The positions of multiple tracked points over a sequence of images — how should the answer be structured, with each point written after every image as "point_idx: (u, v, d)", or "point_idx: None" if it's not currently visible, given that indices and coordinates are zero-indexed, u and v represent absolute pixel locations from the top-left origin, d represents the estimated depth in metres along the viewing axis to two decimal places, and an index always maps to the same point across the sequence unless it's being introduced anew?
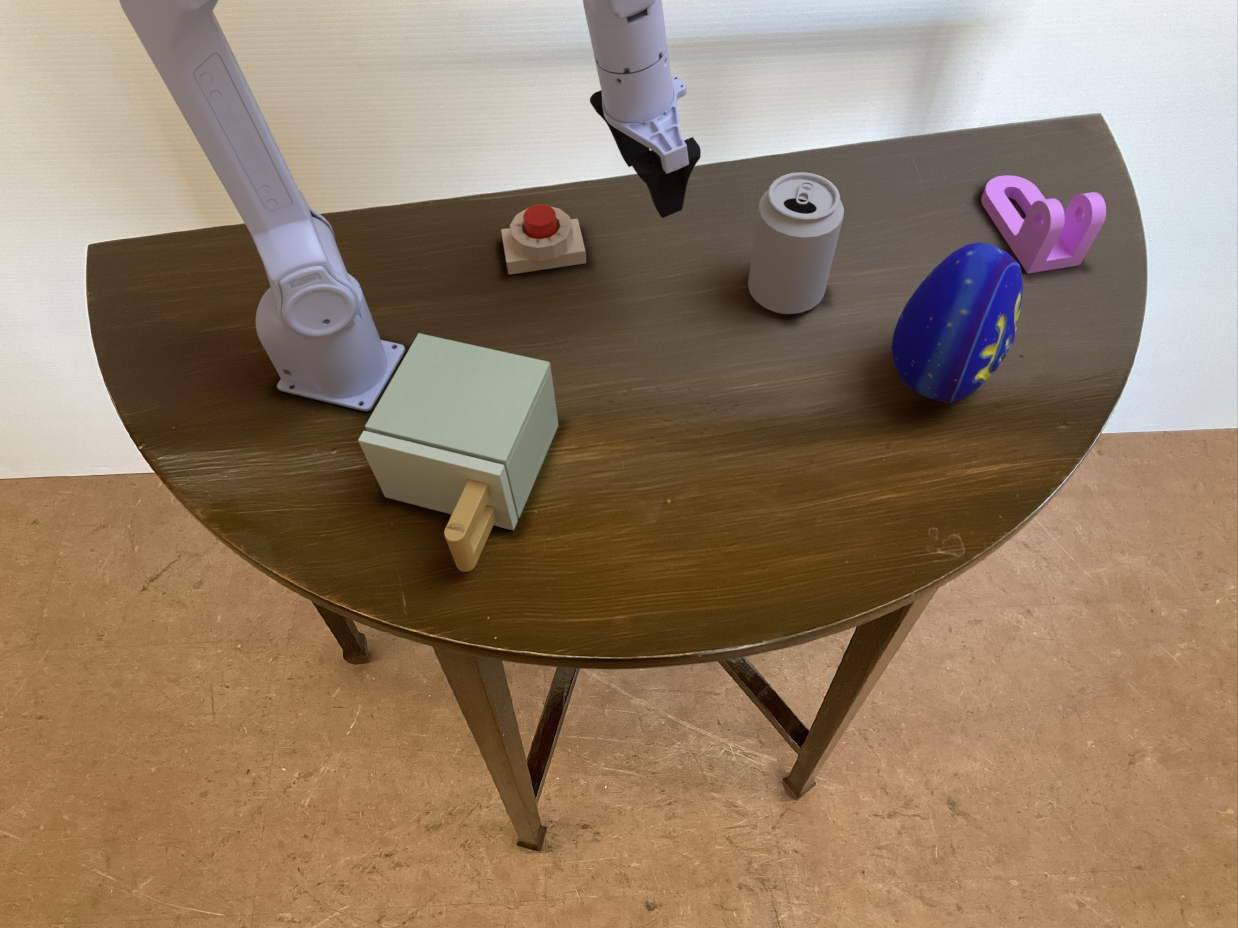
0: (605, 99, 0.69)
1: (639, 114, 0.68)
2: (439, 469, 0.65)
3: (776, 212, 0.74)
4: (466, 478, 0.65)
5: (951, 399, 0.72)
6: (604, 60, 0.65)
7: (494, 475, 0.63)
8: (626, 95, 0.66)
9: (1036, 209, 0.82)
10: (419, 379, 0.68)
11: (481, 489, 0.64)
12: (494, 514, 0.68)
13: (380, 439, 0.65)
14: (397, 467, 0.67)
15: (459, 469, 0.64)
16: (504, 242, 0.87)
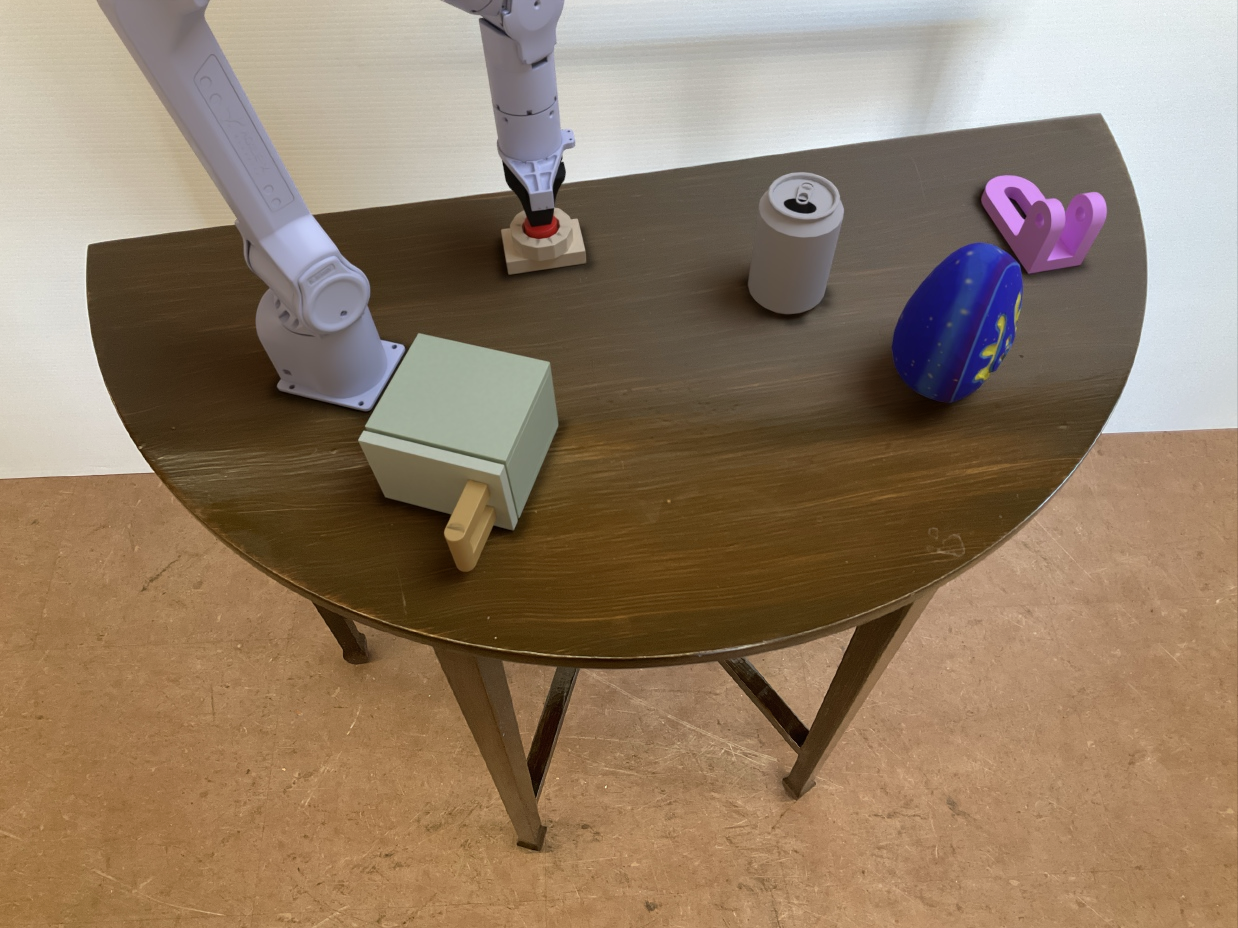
0: (497, 133, 0.76)
1: (522, 153, 0.75)
2: (439, 469, 0.65)
3: (776, 212, 0.74)
4: (466, 478, 0.65)
5: (951, 399, 0.72)
6: (507, 104, 0.71)
7: (494, 475, 0.63)
8: (511, 133, 0.74)
9: (1037, 209, 0.82)
10: (419, 379, 0.68)
11: (481, 489, 0.64)
12: (494, 514, 0.68)
13: (380, 439, 0.65)
14: (397, 467, 0.67)
15: (459, 469, 0.64)
16: (504, 242, 0.87)
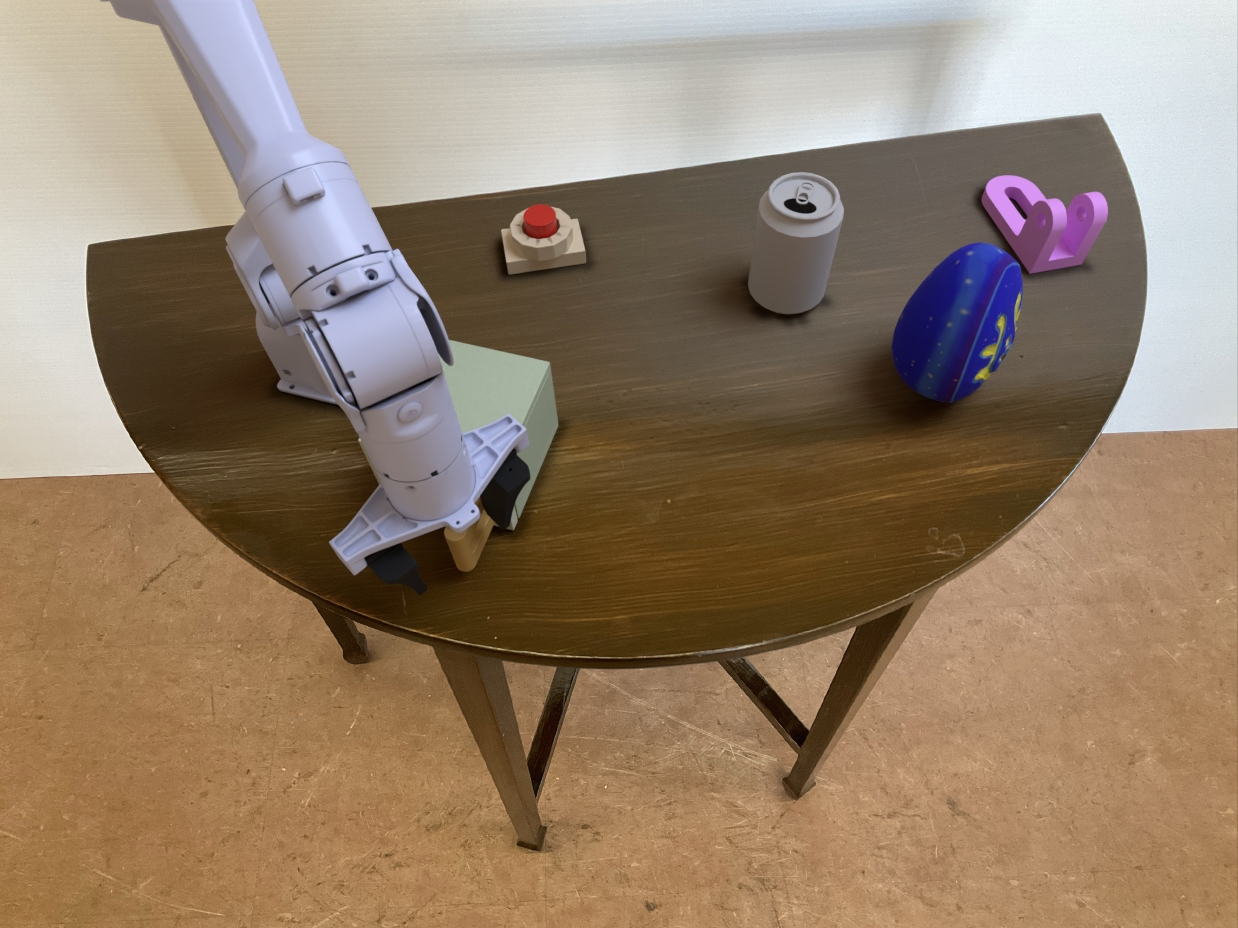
0: None
1: None
2: None
3: (776, 212, 0.74)
4: None
5: (951, 399, 0.72)
6: None
7: None
8: None
9: (1038, 209, 0.82)
10: None
11: None
12: None
13: None
14: None
15: None
16: (504, 242, 0.87)
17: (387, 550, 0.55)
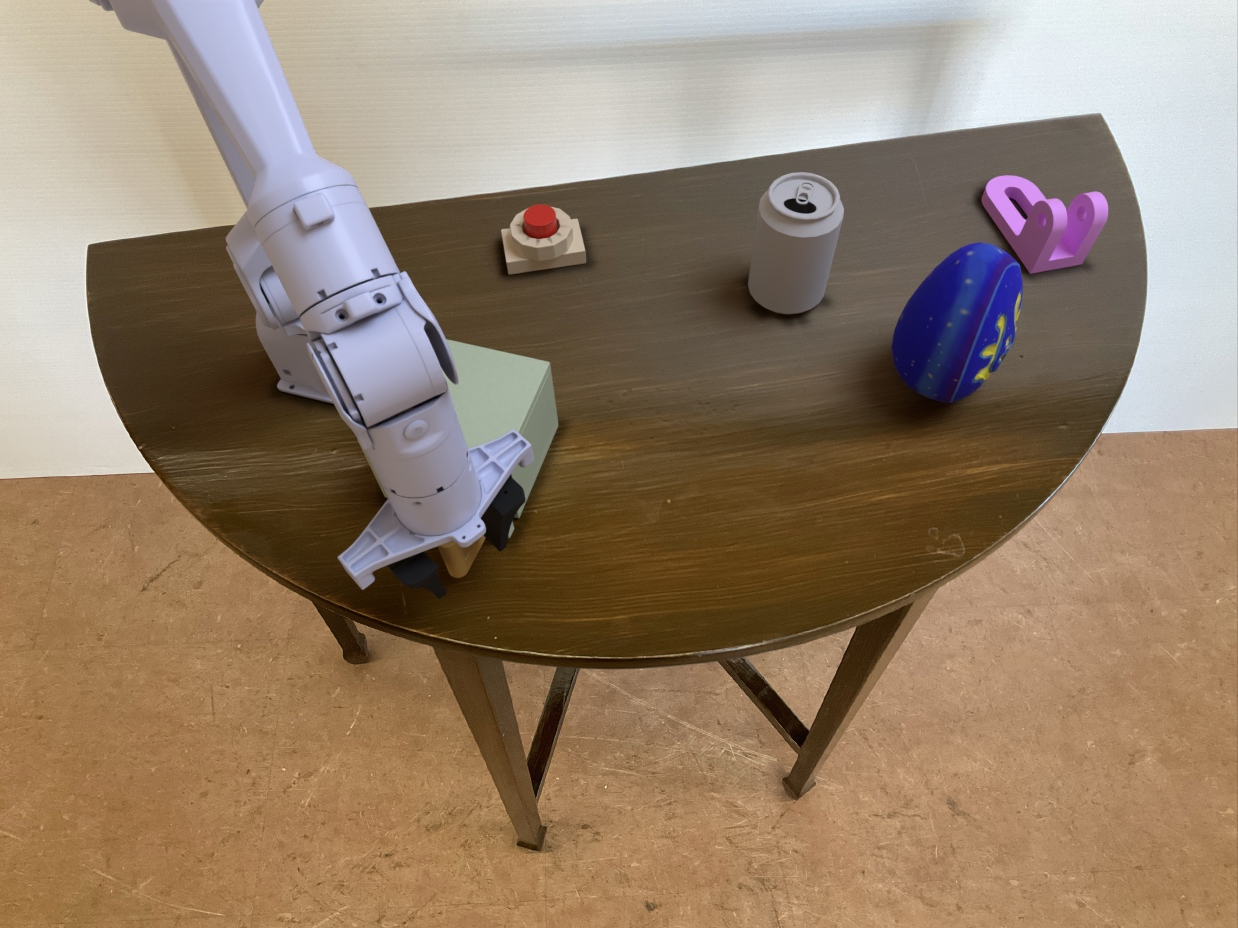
0: None
1: None
2: None
3: (776, 212, 0.74)
4: None
5: (951, 399, 0.72)
6: None
7: None
8: None
9: (1038, 209, 0.82)
10: None
11: None
12: None
13: None
14: None
15: None
16: (504, 242, 0.87)
17: None
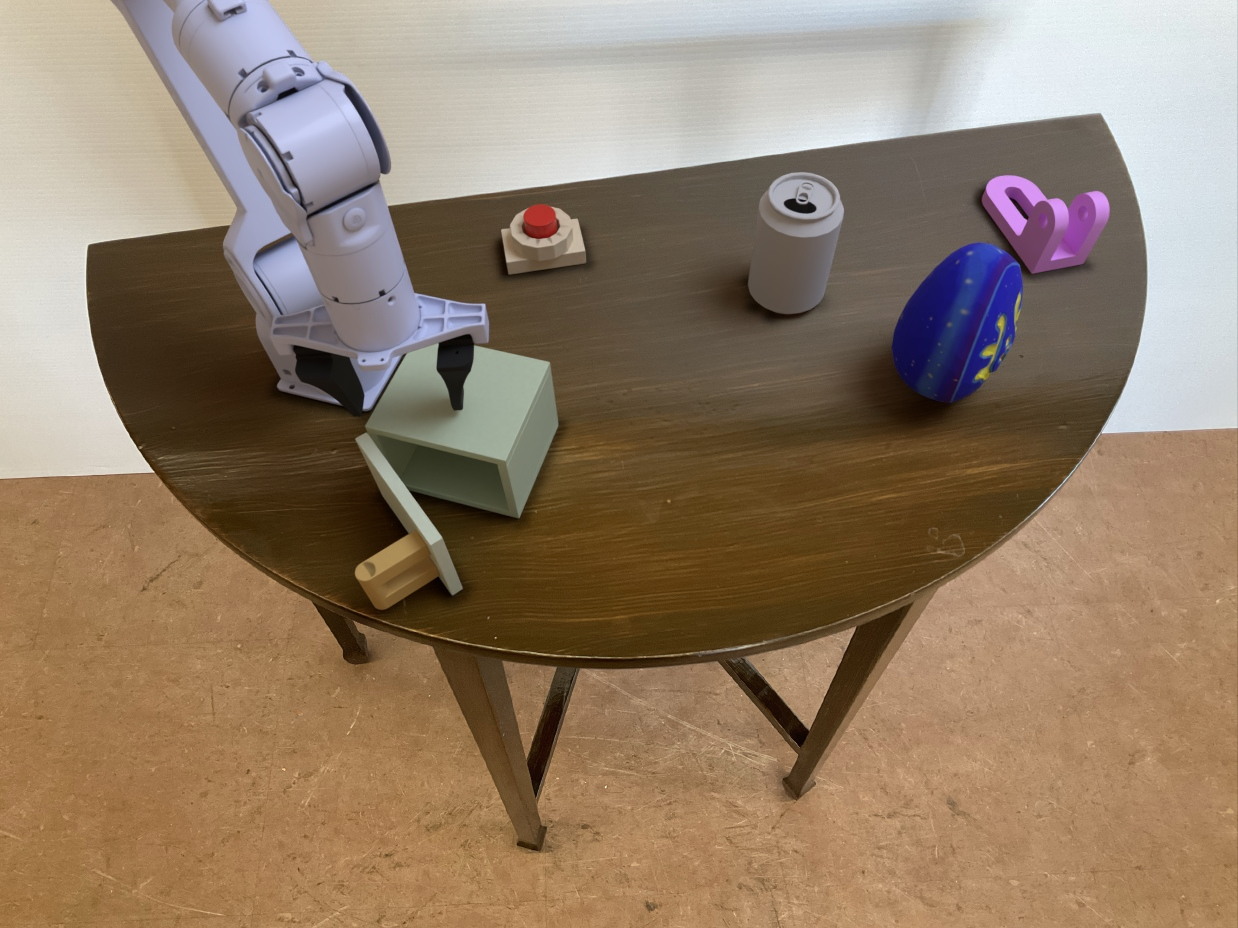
0: None
1: None
2: (399, 505, 0.63)
3: (776, 212, 0.74)
4: (414, 527, 0.63)
5: (951, 399, 0.72)
6: None
7: (427, 541, 0.60)
8: None
9: (1040, 209, 0.82)
10: (419, 379, 0.68)
11: (417, 546, 0.62)
12: (435, 572, 0.65)
13: (371, 448, 0.65)
14: (379, 480, 0.66)
15: (409, 517, 0.62)
16: (504, 242, 0.87)
17: (316, 353, 0.59)
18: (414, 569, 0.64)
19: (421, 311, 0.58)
